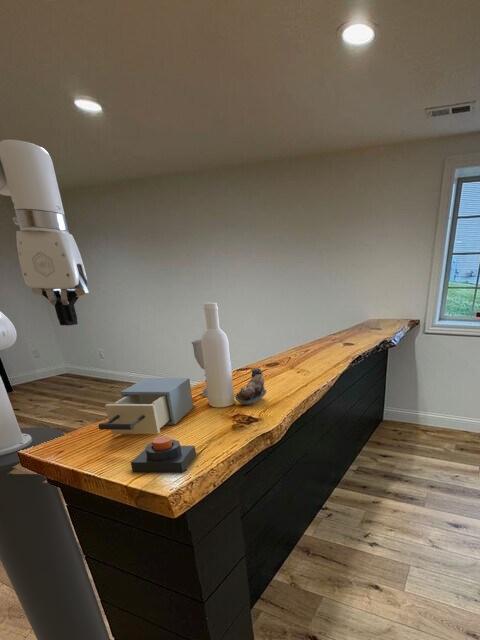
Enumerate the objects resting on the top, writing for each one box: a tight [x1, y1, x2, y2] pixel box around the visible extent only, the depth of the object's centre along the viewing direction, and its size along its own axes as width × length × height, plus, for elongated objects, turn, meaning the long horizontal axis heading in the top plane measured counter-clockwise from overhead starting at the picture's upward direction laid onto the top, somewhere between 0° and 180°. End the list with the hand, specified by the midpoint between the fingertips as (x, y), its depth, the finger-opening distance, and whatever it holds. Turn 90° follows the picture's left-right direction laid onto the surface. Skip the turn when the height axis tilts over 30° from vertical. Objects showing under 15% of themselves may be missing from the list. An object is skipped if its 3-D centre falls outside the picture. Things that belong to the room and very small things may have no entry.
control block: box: [130, 439, 197, 473], centre depth 72 cm, size 10×8×4 cm
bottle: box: [201, 302, 235, 408], centre depth 104 cm, size 8×8×30 cm
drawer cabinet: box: [120, 377, 194, 426], centre depth 98 cm, size 15×13×9 cm
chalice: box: [190, 339, 208, 398], centre depth 116 cm, size 7×7×18 cm
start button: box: [151, 435, 172, 450], centre depth 71 cm, size 4×4×2 cm
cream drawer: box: [98, 395, 171, 435], centre depth 86 cm, size 21×11×7 cm, turn 0°
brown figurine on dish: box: [234, 367, 267, 406], centre depth 110 cm, size 12×7×10 cm, turn 160°
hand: (69, 324), depth 73 cm, fingers closed
